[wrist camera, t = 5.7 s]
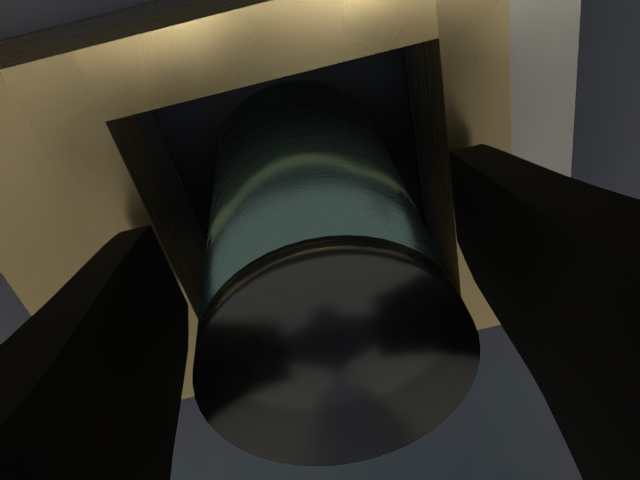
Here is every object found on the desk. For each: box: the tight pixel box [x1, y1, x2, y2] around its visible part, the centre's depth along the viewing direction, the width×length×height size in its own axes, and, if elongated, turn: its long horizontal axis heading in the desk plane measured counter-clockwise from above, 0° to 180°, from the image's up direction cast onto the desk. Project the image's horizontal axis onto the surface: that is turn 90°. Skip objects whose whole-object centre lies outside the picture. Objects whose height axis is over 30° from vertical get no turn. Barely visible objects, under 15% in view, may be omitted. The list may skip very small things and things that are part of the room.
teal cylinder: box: [192, 81, 480, 466], centre depth 10 cm, size 4×4×7 cm
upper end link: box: [0, 0, 511, 399], centre depth 12 cm, size 8×10×3 cm
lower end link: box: [31, 0, 581, 277], centre depth 13 cm, size 8×10×2 cm
